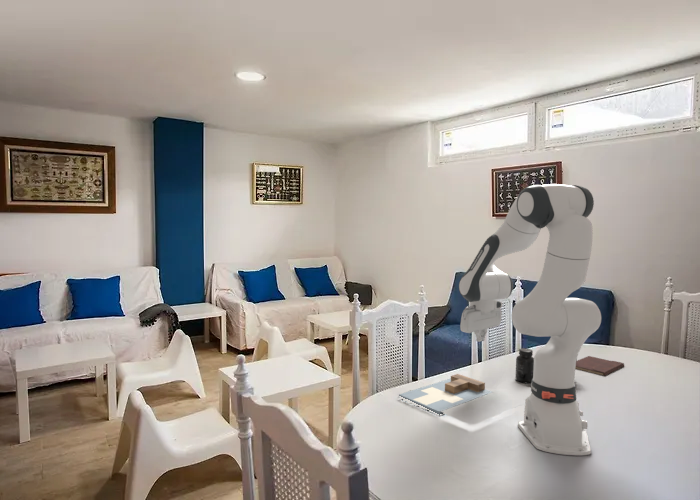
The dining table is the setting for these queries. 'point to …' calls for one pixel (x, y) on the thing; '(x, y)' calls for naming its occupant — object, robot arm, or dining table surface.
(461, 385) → the t block
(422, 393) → the board
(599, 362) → the notebook
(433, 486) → the dining table surface
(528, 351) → the supplement bottle
